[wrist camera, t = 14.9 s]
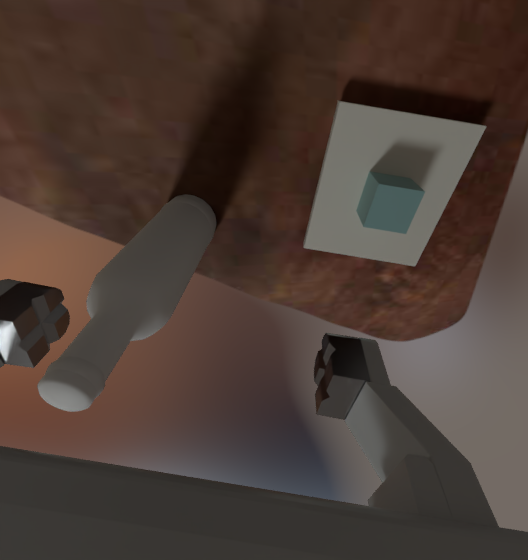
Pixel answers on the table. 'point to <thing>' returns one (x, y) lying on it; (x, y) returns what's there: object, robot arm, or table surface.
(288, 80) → the table surface
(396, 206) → the teal block
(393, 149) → the cream wooden base
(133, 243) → the bottle
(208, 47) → the table surface
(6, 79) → the table surface
